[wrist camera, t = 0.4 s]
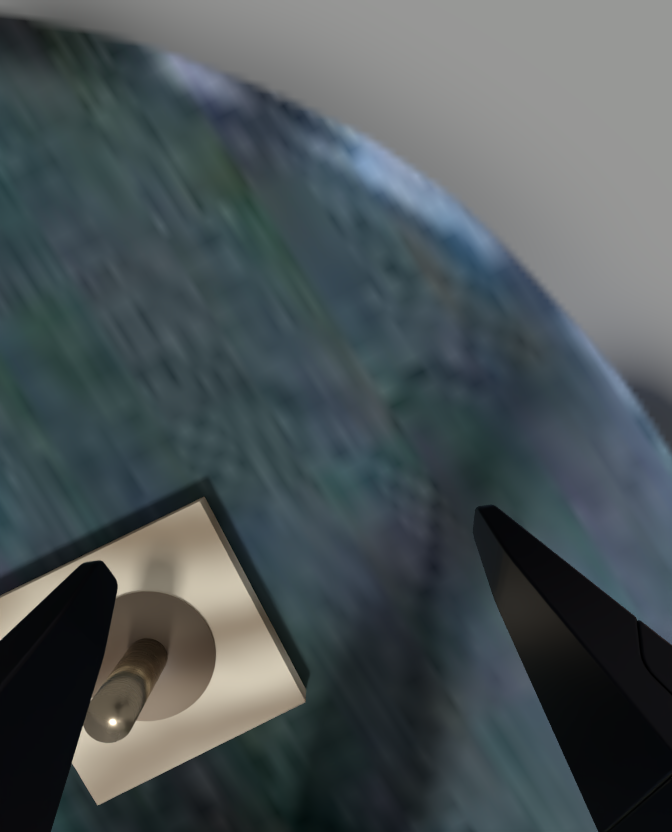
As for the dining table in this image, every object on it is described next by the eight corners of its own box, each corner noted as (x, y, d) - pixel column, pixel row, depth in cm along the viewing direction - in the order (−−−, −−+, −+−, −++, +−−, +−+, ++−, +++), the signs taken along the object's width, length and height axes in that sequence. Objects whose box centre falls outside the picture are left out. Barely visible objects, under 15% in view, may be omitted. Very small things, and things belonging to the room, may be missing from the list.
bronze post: (175, 664, 24) (142, 728, 19) (138, 682, 24) (97, 751, 19) (156, 630, 23) (118, 687, 19) (119, 648, 23) (73, 709, 19)
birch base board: (305, 689, 25) (305, 703, 24) (106, 788, 25) (96, 807, 24) (204, 496, 24) (199, 501, 23) (-7, 598, 24) (-23, 608, 23)
